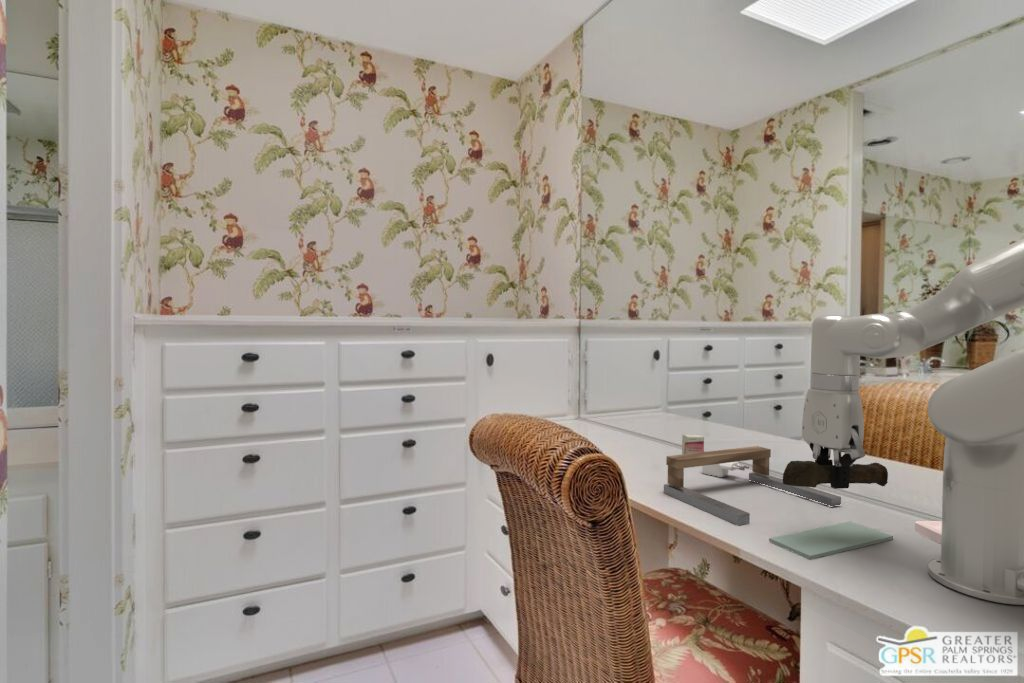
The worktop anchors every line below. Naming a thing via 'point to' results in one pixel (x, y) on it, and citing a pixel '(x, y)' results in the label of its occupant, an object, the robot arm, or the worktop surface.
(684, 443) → the small box
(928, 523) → the soap bar
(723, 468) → the power adapter
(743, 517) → the rails
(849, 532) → the mat
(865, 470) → the dark brown rough bar
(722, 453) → the wooden bridge block
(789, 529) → the worktop surface
